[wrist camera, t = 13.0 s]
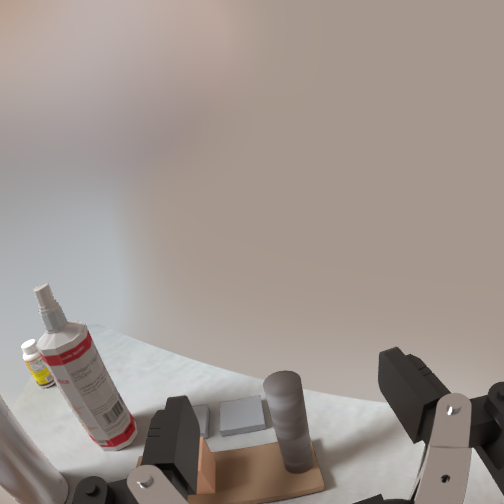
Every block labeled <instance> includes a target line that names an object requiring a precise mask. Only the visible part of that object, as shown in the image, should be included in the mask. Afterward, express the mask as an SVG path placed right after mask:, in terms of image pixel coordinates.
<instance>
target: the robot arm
mask: <svg viewBox="0 0 504 504" xmlns="http://www.w3.org/2000/svg"><path fill="white" fill-rule="evenodd" d="M378 383H379V387H380V390H381V392H382V394H383V395H384V397H385V399H386V400H387V402H388V403H389V405H390V406H391V408H392V410H393V411H394V413H395V414H396V416H397V418H398V419H399V421H400V422H401V424H402V425H403V427H404V429H405V430H406V432H407V433H408V435H409V437H410V438H411V440H412V442H413V443H414V444H415V443H417V442H419V441H421V440H423V441H424V443H425V444H426V445H425V448H424V451H423V455H422V459H421V463H420V467H419V470H418V474H417V477H416V480H415V484H414V487H413V489H412V492H411V495H410V497H409V500H405V499H387V500H384V499H383V497H382V495H381V494H379V495H377V496H374V497H371V498H368V499H365V500H362V501H359V502H356V503H353V504H463V501H464V496H465V491H466V486H467V480H468V474H469V468H470V461H471V453H472V450H471V448H473V447H474V449H475V450H476V452H477V453H478V455H479V456H480V458H481V459H482V461H483V463H484V464H485V466H486V467H487V469H488V471H489V472H490V474H491V475H492V477H493V479H494V480H495V482H496V484H497V485H498V487H499V489H500V490H501V492H502V494H503V495H504V382H498V383H496V384H494V385H493V386H492V387H491V388H490V389H489V392H488V395H485V396H482V397H477V398H473V399H468V398H467V397H466V396H464V395H462V394H459V393H451V392H450V391H449V390H448V389H447V388H446V387H445V386H444V385H443V384H442V382H441V381H440V380H439V379H438V378H437V377H436V376H435V374H434V373H432V371H431V370H430V369H429V368H428V367H427V366H426V365H425V364H424V362H423V361H422V360H421V359H420V358H417V357H416V356H413V355H411V354H409V355H406V356H405V355H404V354H403V352H402V351H401V350H400V349H399V348H398V347H394V348H391V349H388V350H385V351H382V352H380V354H379V372H378ZM149 429H150V430H149V432H148V438H147V440H146V444H145V448H144V452H143V457H142V461H141V465H140V466H139V467H137V468H135V469H134V470H132V471H131V473H130V474H129V475H128V478H127V479H124V480H120V481H116V482H111V483H106V482H105V481H104V480H103V479H102V478H100V477H96V476H91V477H87V478H85V479H83V480H82V481H81V482H80V483H79V484H78V485H77V488H76V491H75V495H74V498H73V502H72V504H189V503H188V502H187V496H188V495H197V478H198V461H199V445H200V426H199V422H198V419H197V417H196V415H195V413H194V410H193V408H192V406H191V404H190V401H189V399H188V397H187V396H177V397H169V398H168V399H167V402H166V407H165V410H158V411H157V413H156V414H155V415H154V417H153V418H152V420H151V424H150V428H149ZM0 486H1V487H2V488H3V489H4V490H6V492H8V493H9V494H10V496H12V497H13V498H14V499H15V500H16V501H17V502H18V503H19V504H64V503H65V501H66V499H67V495H68V484H67V482H66V479H65V478H64V477H63V476H62V475H61V474H60V473H59V471H58V470H57V469H56V468H55V467H54V466H53V465H52V464H51V463H50V461H49V460H48V459H47V458H46V457H45V456H44V454H43V453H42V452H41V451H40V450H39V448H38V447H37V446H36V445H35V443H34V442H33V441H32V440H31V438H30V437H29V436H28V434H27V433H26V432H25V430H24V429H23V428H22V426H21V425H20V424H19V422H18V421H17V419H16V418H15V417H14V415H13V414H12V412H11V411H10V409H9V408H8V406H7V405H6V403H5V402H4V400H3V399H2V397H1V396H0Z"/></svg>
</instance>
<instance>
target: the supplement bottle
mask: <svg viewBox="0 0 504 504" xmlns="http://www.w3.org/2000/svg"><path fill="white" fill-rule="evenodd" d="M36 344H37V343H36V341H35V340H34V339H32V340H29V341H26V342H25V343H23V345H22V346H21V347H22V350H23V352H24V355H23V358H24V360H25V362H26V364H27V366H28V368H29V369H30V371H31V373H32V375H33V377H34V378H35V380H36V382H37V384H38V385H39V386H40V387H42V388H46V387H49V386H51V385H53V384H54V383H55V381H54V379H53V378H52V376H51V374H50V372H49V370H48V369H47V367H46V365H45V363H44V361H43V359H42V357H41V355H40V353H39V351H38V349H37V347H36Z"/></svg>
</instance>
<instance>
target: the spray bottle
mask: <svg viewBox="0 0 504 504" xmlns="http://www.w3.org/2000/svg"><path fill="white" fill-rule="evenodd" d="M33 291H34V294H35V296H36V299H37V302H38V304H39V313H40V314H39V315H40V317H41V320H42V323H43V325H44V328H45V330H46V332H45V334H44V335H43V336H42V337H41V338H40V339H39V341H38V343H37V344H36V347H37V349H38V351H39V353H40V355H41V357H42V359H43V361H44V363H45V365H46V367H47V369H48V370H49V372H50V374H51V376H52V378H53V379H54V381H55V383H56V385H57V386H58V388H59V390H60V391H61V393H62V395H63V396H64V398H65V400H66V401H67V403H68V404H69V406H70V408H71V409H72V411H73V412H74V414H75V415H76V417H77V418H78V420H79V421H80V423H81V424H82V426H83V427H84V428H85V430H86V431H87V433H88V434H89V435H90V437H91V438H92V440H93V441H94V442H95V444H96V445H98V446H99V447H100V448H101V449H102V450H104V451H118V450H120V449H122V448H124V447H126V446H128V445H130V444H131V443H132V442H133V440H134V439H135V437H136V436H137V434H138V430H137V424H136V422H135V420H134V419H133V417H132V415H131V414H130V412H129V410H128V408H127V407H126V405H125V403H124V402H123V400H122V398H121V396H120V394H119V393H118V391H117V389H116V387H115V385H114V383H113V381H112V379H111V377H110V376H109V374H108V372H107V370H106V368H105V366H104V364H103V361H102V359H101V357H100V355H99V353H98V351H97V349H96V347H95V344H94V342H93V340H92V338H91V336H90V333H89V331H88V329H87V326H86V324H84V323H81V322H79V321H77V322H68V321H67V320H66V318H65V316H64V313H63V311H62V309H61V307H60V306H59V304H58V302H56V300H54V297H53V295H52V292H51V289H50V287H49V284H45V285H40V286H37V287H35V288H34V290H33Z"/></svg>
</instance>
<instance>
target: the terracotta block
mask: <svg viewBox="0 0 504 504" xmlns="http://www.w3.org/2000/svg"><path fill="white" fill-rule="evenodd" d="M215 470H216V461H215V459H214V457H213V455H212V453H211V451H210V449H209V448H208V446H207V444H206V442H205V440H204V438H203V436H202V437H200V445H199V461H198V478H197V494H211V493H215Z"/></svg>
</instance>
